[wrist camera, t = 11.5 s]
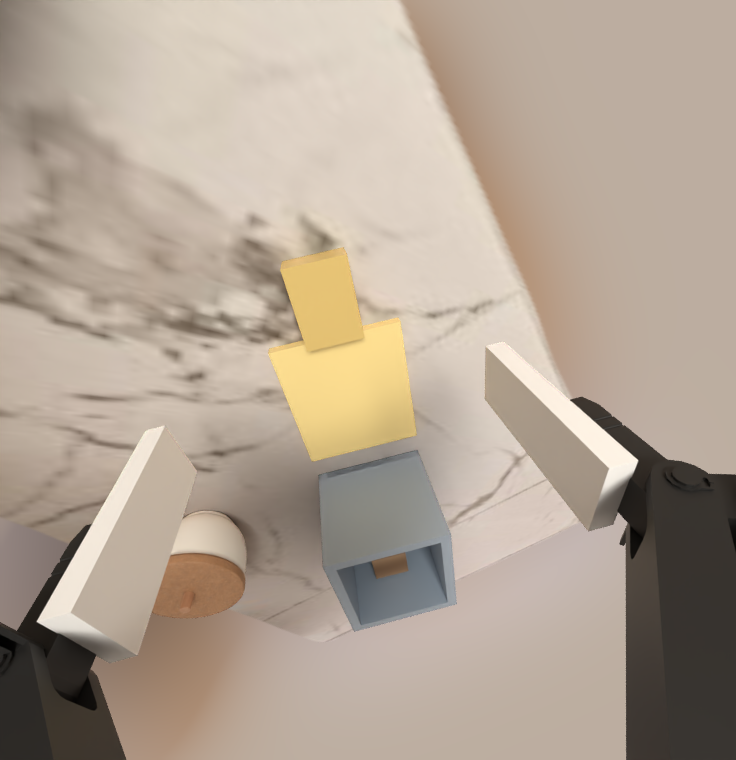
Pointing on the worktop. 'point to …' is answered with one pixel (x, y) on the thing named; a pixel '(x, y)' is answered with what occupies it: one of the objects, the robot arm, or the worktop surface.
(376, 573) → the walnut part
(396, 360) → the lid
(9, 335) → the worktop surface
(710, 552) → the robot arm
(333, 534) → the tub
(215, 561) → the lidded jar
